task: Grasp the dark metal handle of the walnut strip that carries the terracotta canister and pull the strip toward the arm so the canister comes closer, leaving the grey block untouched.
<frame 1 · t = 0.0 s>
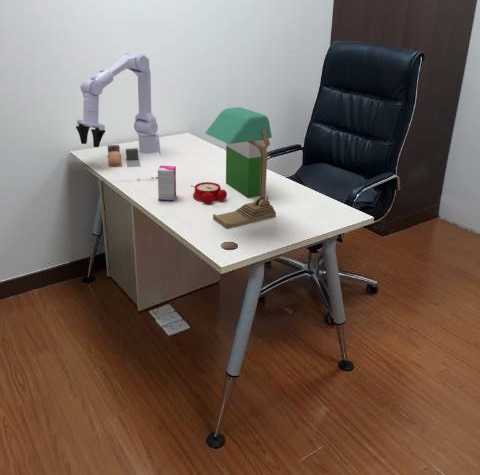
hand: (90, 145, 199), 11 cm above the table, tool pointing down, fingers open, 7 cm apart
supplement box: (167, 198, 178), on the table
mousepad: (164, 180, 197), on the table
terracotta canister: (115, 164, 208), point 1 cm above the table, touching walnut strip
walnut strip: (114, 157, 211), point 3 cm above the table, slide at 0.0 cm, touching terracotta canister
grey block: (132, 158, 210), point 3 cm above the table, slide at 0.0 cm
alarm clock: (209, 199, 179), on the table
hardback book: (244, 189, 188), on the table
banker's lamp: (242, 218, 163), on the table
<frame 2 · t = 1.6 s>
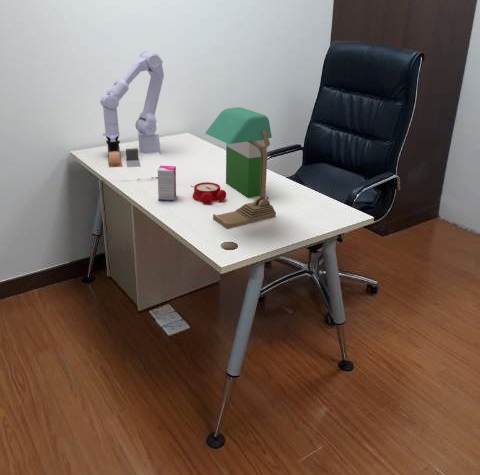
hand: (114, 153, 218), 2 cm above the table, tool pointing down, fingers open, 7 cm apart
nothing on the table moved.
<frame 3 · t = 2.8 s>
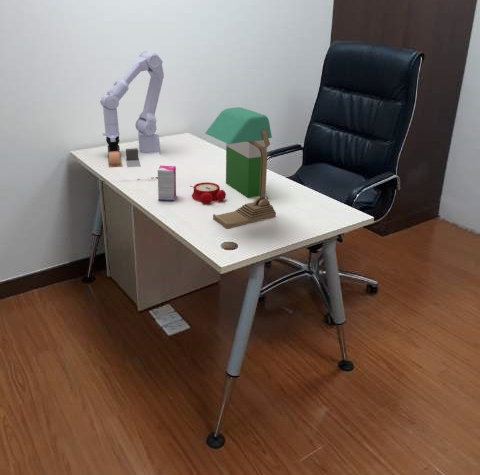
hand: (114, 153, 218), 2 cm above the table, tool pointing down, fingers closed on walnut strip, 2 cm apart
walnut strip: (114, 157, 211), point 3 cm above the table, slide at 0.0 cm, touching gripper, terracotta canister
everything else where it was.
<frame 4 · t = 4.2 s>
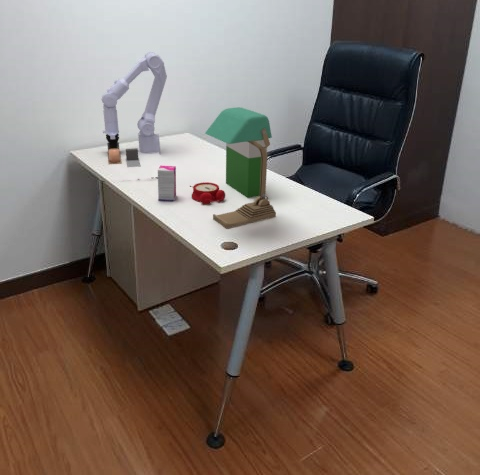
hand: (113, 151, 222), 2 cm above the table, tool pointing down, fingers closed on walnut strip, 2 cm apart
terracotta canister: (114, 161, 211), point 1 cm above the table, touching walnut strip
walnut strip: (114, 154, 215), point 3 cm above the table, slide at 4.4 cm, touching gripper, terracotta canister
everything else where it was.
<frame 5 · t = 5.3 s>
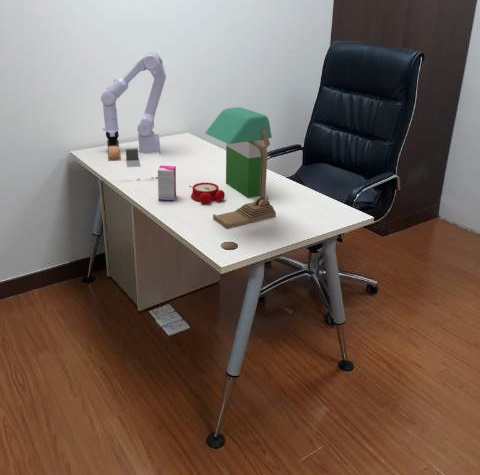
hand: (113, 148, 226), 2 cm above the table, tool pointing down, fingers closed on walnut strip, 2 cm apart
terracotta canister: (114, 158, 215), point 1 cm above the table, touching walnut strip
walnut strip: (113, 151, 219), point 3 cm above the table, slide at 9.0 cm, touching gripper, terracotta canister
everything else where it was.
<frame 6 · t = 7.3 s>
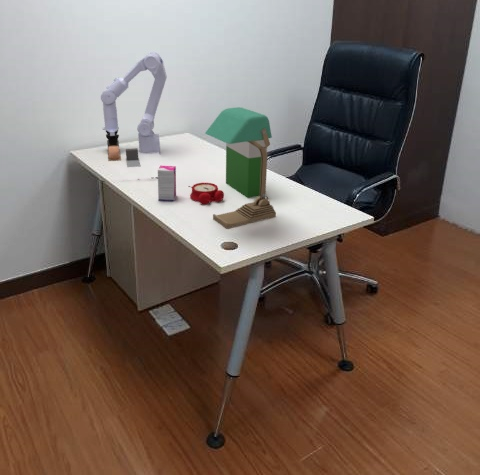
hand: (113, 147, 226), 3 cm above the table, tool pointing down, fingers open, 7 cm apart
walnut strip: (113, 151, 219), point 3 cm above the table, slide at 9.0 cm, touching terracotta canister
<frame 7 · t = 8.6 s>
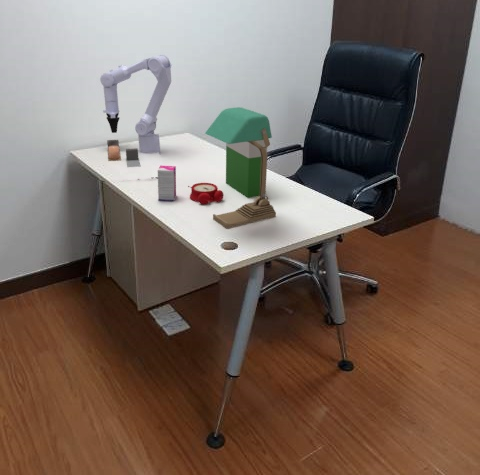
hand: (114, 130, 227), 9 cm above the table, tool pointing down, fingers open, 7 cm apart
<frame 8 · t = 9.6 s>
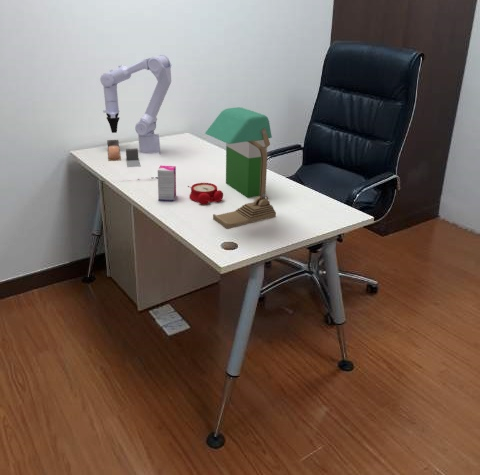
hand: (114, 130, 227), 9 cm above the table, tool pointing down, fingers open, 7 cm apart
at the end: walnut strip slide at 9.0 cm; terracotta canister inside the target area (0.2 cm from its centre), point 1.4 cm above the table; terracotta canister tilted 0° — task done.
